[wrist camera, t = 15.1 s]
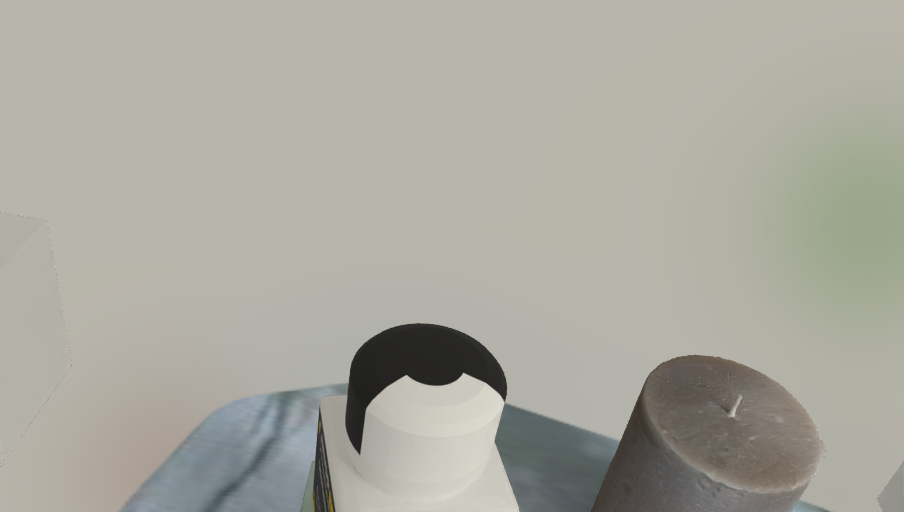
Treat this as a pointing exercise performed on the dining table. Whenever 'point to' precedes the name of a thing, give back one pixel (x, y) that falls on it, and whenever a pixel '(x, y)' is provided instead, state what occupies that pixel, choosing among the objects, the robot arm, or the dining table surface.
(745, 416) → the pillar candle
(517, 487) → the dining table surface
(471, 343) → the medicine bottle
